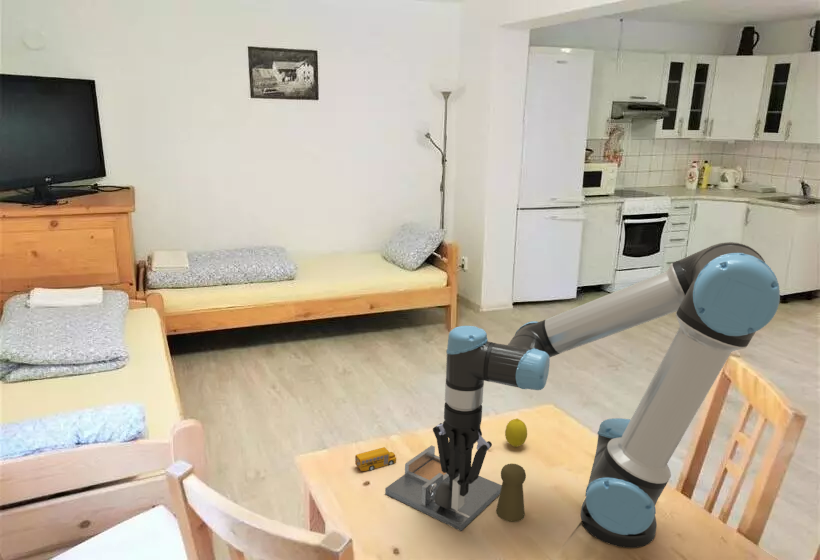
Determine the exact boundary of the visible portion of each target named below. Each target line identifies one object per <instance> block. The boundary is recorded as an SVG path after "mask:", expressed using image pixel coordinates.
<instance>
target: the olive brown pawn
mask: <svg viewBox="0 0 820 560" xmlns="http://www.w3.org/2000/svg"><path fill="white" fill-rule="evenodd" d="M526 477H527V475H526V470H525V469H524V467H523V466H522V465H519V464H518V463H508V464H505V465H504V466H502V469H501V471H500V478H501V480H502V484H501V485H502V487H501V491H500V495H499V497H498V501H497V505H496V510H495V513H496V515H497V517H499V518H500V519H501V520H503V521H505V522H509V523H517V522H520V521H522V520H523V519H524V518H525V516H526V515H525V501H524V500H525V499H524V483H525V482H526Z"/></svg>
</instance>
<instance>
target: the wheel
mask: <svg viewBox="0 0 820 560" xmlns="http://www.w3.org/2000/svg"><path fill="white" fill-rule="evenodd" d="M435 503H436V504H437V505H439V506H441V507H444V508H446V509H449V508H450V507H451V505H452V491H450V489H449V483H448V482H446V481H444V482H442V483H441V484H440V485H439V487H438V488H437V491H436V494H435Z"/></svg>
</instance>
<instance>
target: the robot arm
mask: <svg viewBox="0 0 820 560" xmlns="http://www.w3.org/2000/svg"><path fill="white" fill-rule="evenodd" d="M780 299H781V292H780V285H779V281H778V278H777V276H776V274H775V272H774V271H773V270H772V268H771V267H770V266H769V265H768V264H767V263H766V261H765V259H764V258H763V257H762V255H761V254H760V253H759V252H758V251H756V250H755V249H754V248H752V247H751V246H748V245H747V244H742V243H739V242H733V241H732V242H731V241H730V242H720V243H717V244H712V245H710V246H708V247H705V248H704V249H701V250H699V251H697V252H695V253H692V254H690V255H688V256H686V257H683V258H682V259H678V260H677V261H674V262H672V263H670V265H669V267H668V269H667V270H666V271H665V272H661V273H659V274H656V275H654V276H651V277H648V278H647V279H643V280H641V281H638V282H636V283H634V284H632V285H628V286H627V287H623V288H622V289H619V290H616V291H614V292H611V293H609V294H606V295H603V296H601V297H598V298H595V299H593V300H591V301H588V302H586V303H583V304H580V305H579V306H576V307H574V308H571V309H568V310H565V311H563V312H561V313H558V314H556V315H554V316H551V317H548V318H546V319H542V320H540V321H537V320H536V321H535V320H533V321H528V322H526V323H524V324H523V325H521V326H520V327H519V328H518V329H517V330H516V332H515V334H514V335H513V337H512V338H511V340H510V341H509V342H508V344H503V343H496V342H492V341H489V339H488V336H487V335H488V334H487V332H486V331H485V329H484V328H479V327H478V326H475V325H474V326H473V325H460V326H456V327H454V328H452V330H450V331H449V333H448V339H447V347H446V348H447V349H446V350H445V351H446V362H445V363H446V364H445V365H446V367H445V368H446V371H445V372H446V373H445V377H446V378H445V389H444V411H443V419H444V420H443V422H442V423H439V424H437V425H436V426H434V427H432V432H433V434H434V437H435V438H436V444H437V450H438V456H439V457H440V463H441V469H442V472H443V473H447V474H448V475H449V477H450V483H449V489H450V491H452V505H451V508H453V509H455V510H459V509H460V508H461V507H462V506H463V505H464V501H465V495H466V494H467V493H468V490H469V484H471V483H473V482H474V481H475V480H476V479H477V478H478V476H480V473H481V470H482V467H483V464H484V461H485V458H486V456H487V451H488V450H489V449H490V448H492V447H493V446H492V445H493V444H492V442H491V441H490V440H489V441H486V440H485V439H484V437H483V432H482V429H481V424H482V420H483V419H482V418H483V417H482V416H483V401H484V400H483V399H484V383H485V382H488V383H489V382H491V383H495V384H499V385H500V384H501V385H505V386H508V387H509V386H510V387H513V388H517V389H522V390H534V391H542V390H543V389H544V388H545V386H546V384H547V382H548V377H549V372H550V362H551V361H550V358H552V357H554V356H555V357H556V356H558V355H560V354H562V353H565V352H568V351H570V350H573V349H576V348H578V347H582V346H584V345H587V344H589V343H594V342H595V341H599V340H600V339H604V338H607V337H609V336H612V335H615V334H618V333H620V332H624V331H626V330H629V329H632V328H635V327H637V326H640V325H644V324H646V323H648V322H651V321H653V320H654V321H655V320H656V319H660V318H661V317H662V318H663V317H664V316H668V315H670V314H673V313H675V317H676V320H677V322H678V325H679V328H678V330H677V332H676V334H675V335H674V337H673V339H672V341H671V343H670V345H669V347H668V348H667V350H666V352H665V354H664V356H663V358H662V360H661V361H660V364H659V366H658V367H657V369H656V371H655V373H654V375H653V377H652V379H651V381H650V382H649V384H648V386H647V388H646V390H645V392H644V394H643V396H642V397H641V399H640V401H639V403H638V405H637V407H636V409H635V411H634V412H633V414H632V416H631V418H630V419H629V418H620V417H619V418H618V417H615V418H608V419H605V420H602V422H601V423H600V424H599V427H598V431H597V442H596V444H597V445H596V450H595V454H594V459H593V463H592V468H591V471H590V476H589V479H588V484H587V486H586V489H585V498H584V500H583V502H582V505H581V508H580V518H581V520H580V522H581V524H582V527H584V529H585V530H586V531H587V532H588V533H589V534H591V535H592V536H593V537H594V538H596V539H598V540H600V541H602V542H603V543H606V544H608V545H612V546H615V547H619V548H627V549H629V548H630V549H631V548H633V549H634V548H635V549H636V548H642V547H645V546H647V545H650V543H652V542H653V541H654V539H655V538H656V535H657V528H658V527H657V525H658V524H657V518H656V514H657V513H656V504H657V501H658V500H659V498H660V497H661V495H662V493H663V492H664V489H665V488H666V486H667V484H668V483H669V481H670V479H671V477H672V474H671V469H670V467H669V465H668V463H669V461H670V459H671V458H672V456H673V455H674V453H675V451H676V449H677V447H678V446H679V444H680V443H681V441H682V439H683V438H684V435H685V434H686V431H687V430H688V428H689V427H690V425H691V423H692V422H693V420H694V418H695V416H696V414H697V413H698V410H700V408H701V406H702V404H703V403H704V400H705V399H706V398H707V395H708V394H709V392H710V390H711V388H712V387H713V385H714V383H715V381H716V380H717V378H718V376H719V374H720V373H721V371H722V369H723V368H724V366H725V365H726V362H727V360H728V359H729V358H730V356H731V354H732V353H733V352H735V351H739V350H743V349H746V348H747V347H748V345H749V343H750V342H751V340H752V339H753V337H754V335H755V333H756V332H759V331H761V329H763V328H764V327H766V326H767V325H768V324H769V323H770V322H771V321H772V320H773V318H774V317H775V316H776V313H777V312H778V308H779V305H780ZM476 443H477V446H476V451H475V454H474V457H473V460H472V456H473V449H474V446H475V444H476ZM459 473H460V475H459V476H458V474H459Z"/></svg>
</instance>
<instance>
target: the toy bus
mask: <svg viewBox="0 0 820 560" xmlns="http://www.w3.org/2000/svg"><path fill="white" fill-rule="evenodd" d="M354 459H355V460H354V461H355V465H356V467H357V468H358V470H359V471H361V472H366V471H367V472H368V471H369V472H370V471H374V470H375V469H379V468H382V467H385V466H392V465H394V464H396V463H397V456H396V454H395V453H394V452H393V451H389V450H388V449H387V447H385V446H383V447H379V448H376V449H372V450H368V451H365V452H361V453H357V454H355V457H354Z"/></svg>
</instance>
